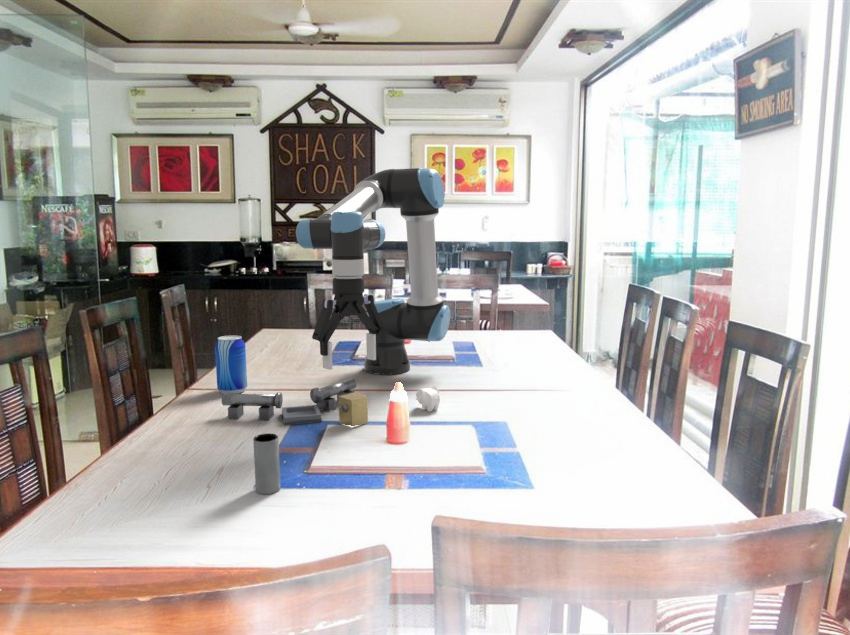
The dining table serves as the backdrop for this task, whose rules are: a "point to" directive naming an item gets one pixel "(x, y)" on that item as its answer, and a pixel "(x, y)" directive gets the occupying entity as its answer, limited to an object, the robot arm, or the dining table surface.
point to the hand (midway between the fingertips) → (350, 364)
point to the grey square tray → (301, 414)
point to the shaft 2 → (331, 393)
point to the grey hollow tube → (266, 463)
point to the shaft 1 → (252, 404)
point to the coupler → (353, 409)
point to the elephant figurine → (428, 398)
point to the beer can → (231, 364)
